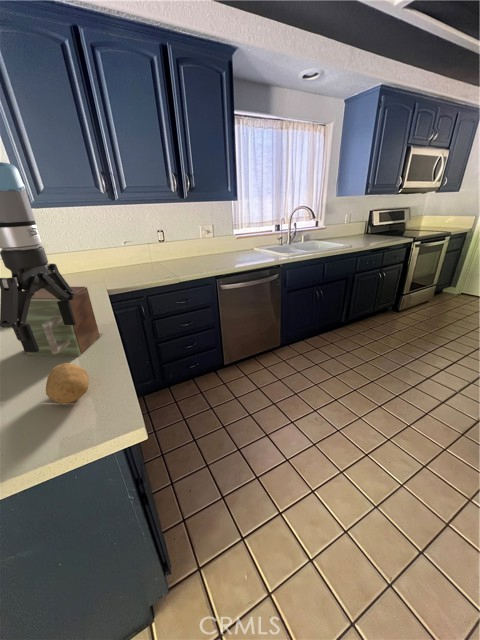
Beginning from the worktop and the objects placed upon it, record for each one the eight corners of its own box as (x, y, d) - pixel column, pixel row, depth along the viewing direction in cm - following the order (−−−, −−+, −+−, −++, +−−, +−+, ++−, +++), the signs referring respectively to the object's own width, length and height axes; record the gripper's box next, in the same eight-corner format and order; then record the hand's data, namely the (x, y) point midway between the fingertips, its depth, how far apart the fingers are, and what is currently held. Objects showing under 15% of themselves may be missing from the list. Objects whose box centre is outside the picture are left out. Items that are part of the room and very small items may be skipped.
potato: (85, 375, 78) (78, 352, 75) (99, 400, 69) (91, 375, 65) (46, 389, 73) (36, 365, 69) (55, 419, 63) (44, 392, 60)
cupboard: (81, 354, 89) (65, 298, 81) (30, 353, 90) (7, 298, 81) (100, 337, 100) (86, 286, 91) (53, 336, 101) (36, 286, 92)
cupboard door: (66, 368, 82) (46, 309, 73) (10, 367, 82) (-17, 309, 74) (81, 354, 89) (64, 299, 80) (29, 353, 89) (7, 299, 81)
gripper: (-15, 259, 44) (29, 366, 53) (74, 238, 67) (95, 315, 75) (-59, 260, 44) (-7, 366, 53) (45, 239, 67) (69, 315, 76)
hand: (53, 336), depth 64 cm, fingers open, 13 cm apart
